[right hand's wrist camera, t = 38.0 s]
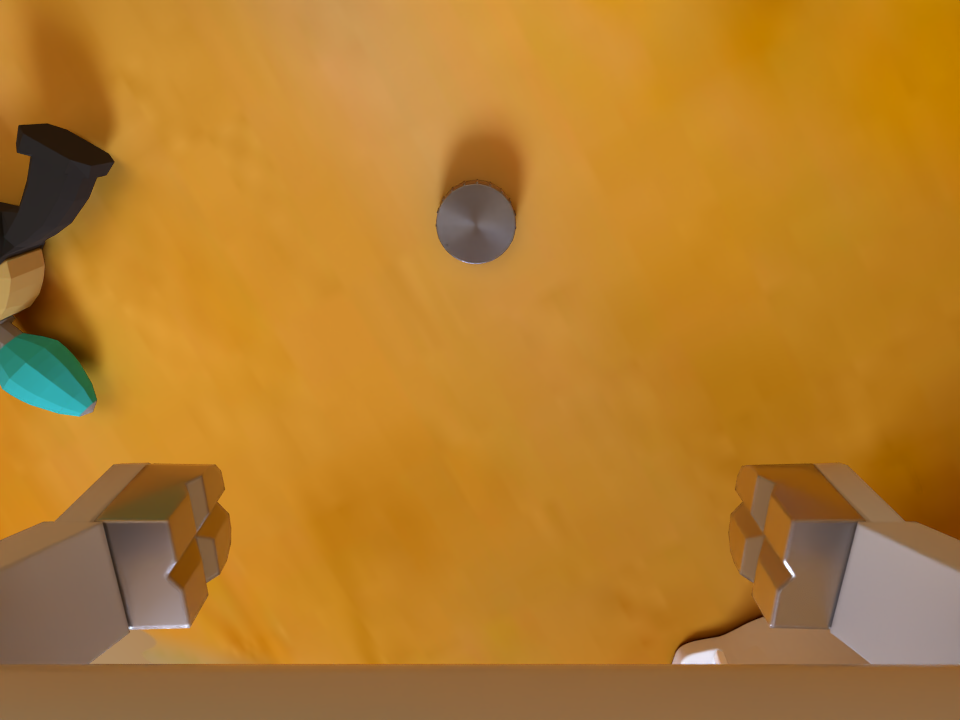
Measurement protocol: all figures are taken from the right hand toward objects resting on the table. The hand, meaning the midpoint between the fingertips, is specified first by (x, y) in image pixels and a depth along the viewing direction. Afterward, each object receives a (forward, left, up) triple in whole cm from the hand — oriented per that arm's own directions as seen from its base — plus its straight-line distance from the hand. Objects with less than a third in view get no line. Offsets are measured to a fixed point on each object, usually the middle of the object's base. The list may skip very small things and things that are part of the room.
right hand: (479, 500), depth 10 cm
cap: (0, 0, -27) cm, 27 cm away
